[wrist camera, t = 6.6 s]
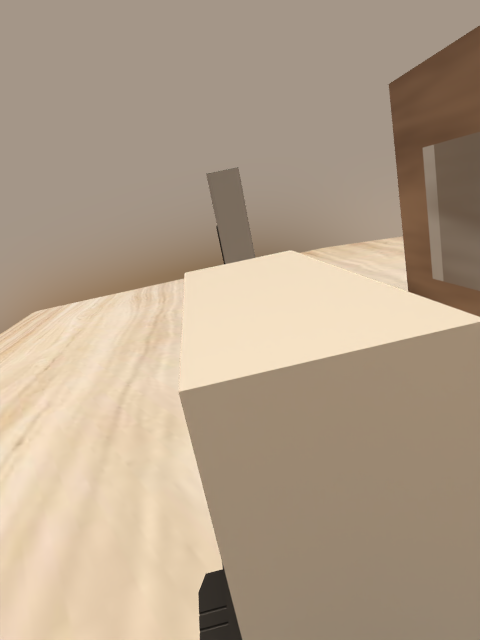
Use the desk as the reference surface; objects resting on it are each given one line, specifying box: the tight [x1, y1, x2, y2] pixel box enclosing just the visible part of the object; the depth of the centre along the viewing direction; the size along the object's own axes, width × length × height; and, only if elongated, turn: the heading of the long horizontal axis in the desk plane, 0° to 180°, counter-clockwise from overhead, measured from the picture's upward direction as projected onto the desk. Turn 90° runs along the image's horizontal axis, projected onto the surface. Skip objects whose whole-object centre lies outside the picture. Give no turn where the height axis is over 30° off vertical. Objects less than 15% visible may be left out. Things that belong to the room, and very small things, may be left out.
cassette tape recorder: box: [207, 167, 255, 265], centre depth 78 cm, size 14×6×25 cm, turn 2°
